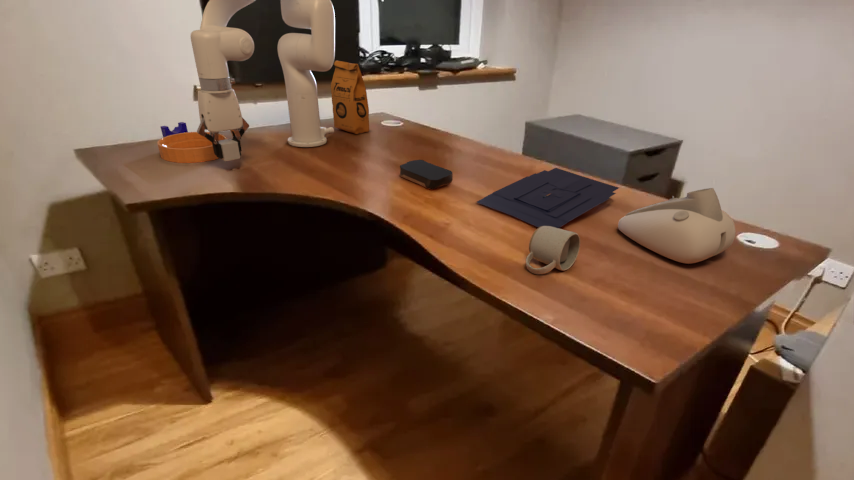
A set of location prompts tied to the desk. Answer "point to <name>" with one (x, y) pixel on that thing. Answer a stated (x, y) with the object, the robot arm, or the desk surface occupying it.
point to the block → (229, 149)
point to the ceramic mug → (553, 249)
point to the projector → (682, 227)
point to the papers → (549, 197)
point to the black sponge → (426, 174)
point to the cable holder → (180, 129)
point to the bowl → (187, 148)
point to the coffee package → (349, 98)
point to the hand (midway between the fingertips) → (228, 155)
